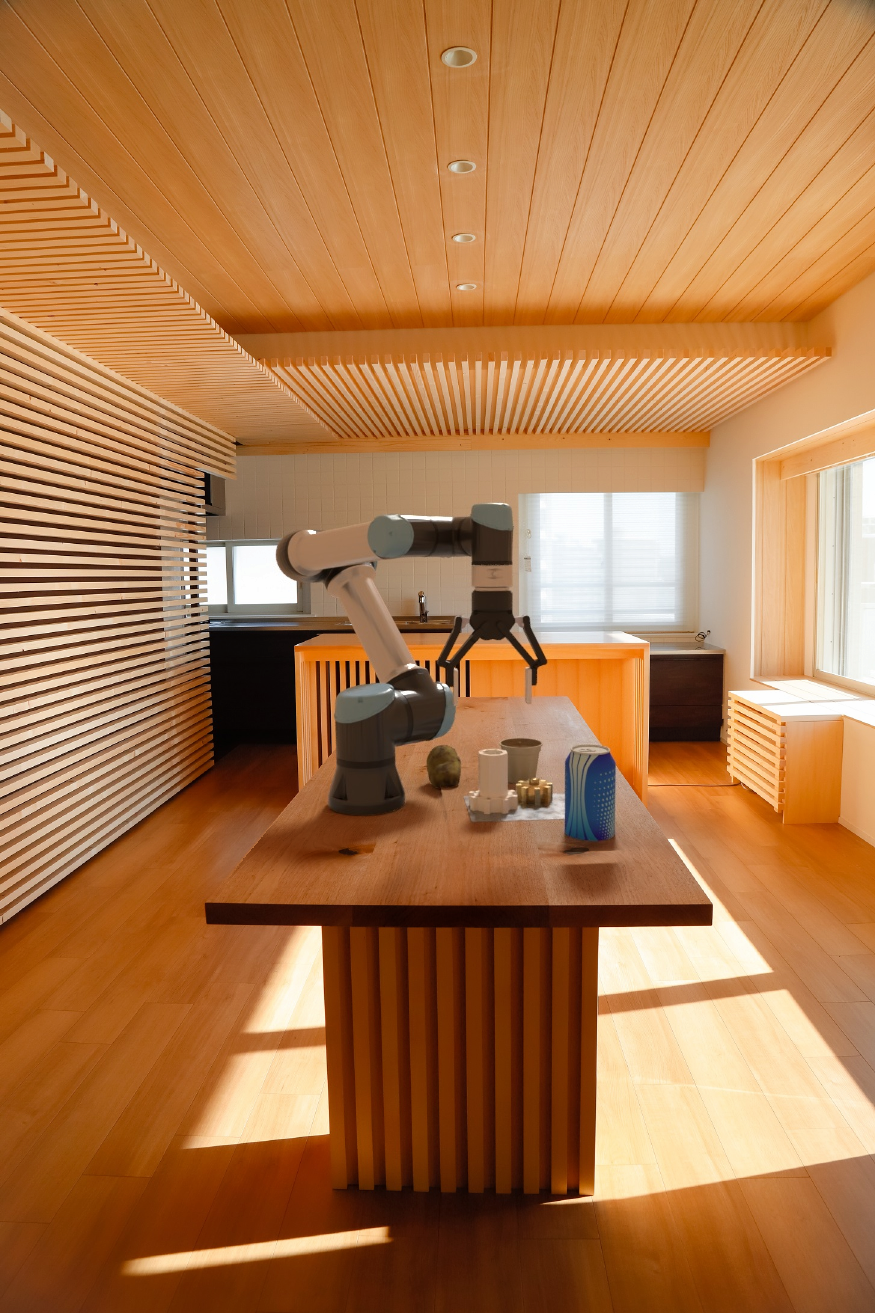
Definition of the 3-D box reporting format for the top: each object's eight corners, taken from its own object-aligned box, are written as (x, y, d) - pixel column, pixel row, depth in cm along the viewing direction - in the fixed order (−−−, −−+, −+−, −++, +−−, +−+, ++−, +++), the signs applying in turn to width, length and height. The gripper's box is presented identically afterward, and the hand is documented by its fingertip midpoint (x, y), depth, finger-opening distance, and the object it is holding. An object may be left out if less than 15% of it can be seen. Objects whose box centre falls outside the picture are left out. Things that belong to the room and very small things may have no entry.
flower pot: (541, 788, 169) (541, 748, 168) (496, 786, 170) (496, 746, 169) (544, 776, 178) (544, 738, 177) (502, 775, 180) (501, 737, 179)
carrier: (472, 830, 143) (471, 797, 142) (463, 803, 159) (463, 773, 158) (593, 826, 144) (594, 793, 144) (573, 799, 160) (573, 770, 159)
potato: (418, 793, 166) (418, 755, 165) (430, 777, 179) (429, 741, 178) (458, 794, 165) (458, 756, 164) (467, 778, 177) (466, 742, 177)
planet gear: (472, 814, 147) (471, 758, 146) (467, 800, 156) (466, 747, 154) (520, 813, 147) (520, 757, 146) (512, 799, 156) (512, 746, 155)
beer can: (580, 829, 143) (580, 741, 141) (623, 839, 137) (624, 747, 136) (555, 842, 136) (555, 750, 134) (599, 853, 131) (600, 757, 129)
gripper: (424, 590, 142) (426, 708, 145) (563, 589, 144) (562, 706, 146) (422, 589, 150) (424, 701, 152) (555, 587, 151) (554, 698, 154)
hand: (491, 703), depth 149 cm, fingers open, 13 cm apart
